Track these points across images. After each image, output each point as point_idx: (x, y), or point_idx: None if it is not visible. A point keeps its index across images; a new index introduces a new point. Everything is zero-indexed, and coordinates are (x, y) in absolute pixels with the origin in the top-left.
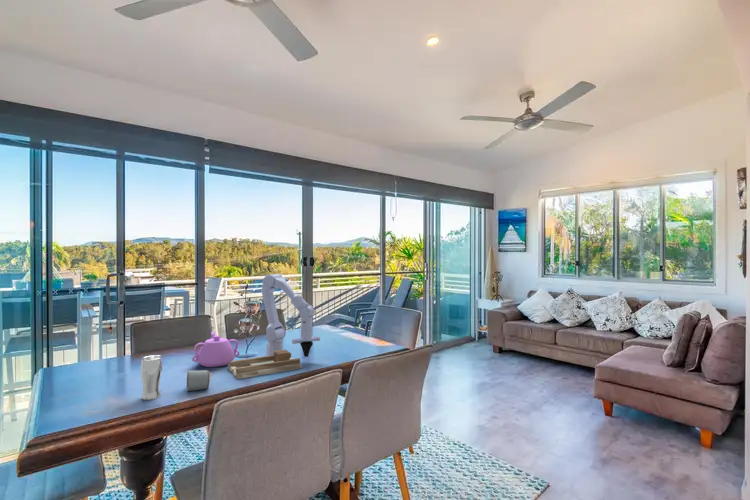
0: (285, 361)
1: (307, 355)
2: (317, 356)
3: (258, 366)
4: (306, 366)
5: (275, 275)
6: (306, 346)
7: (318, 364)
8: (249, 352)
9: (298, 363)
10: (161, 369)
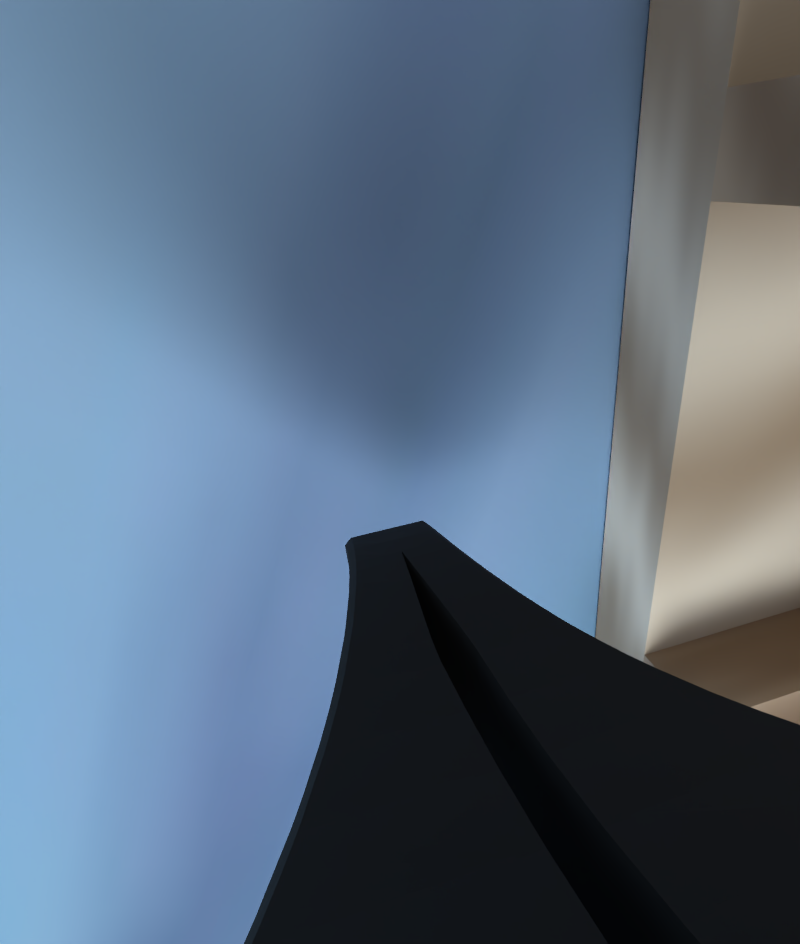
0: None
1: (379, 545)
2: (3, 804)
3: None
4: (468, 90)
5: None
6: (688, 787)
7: (39, 130)
8: None
9: (784, 66)
10: None
